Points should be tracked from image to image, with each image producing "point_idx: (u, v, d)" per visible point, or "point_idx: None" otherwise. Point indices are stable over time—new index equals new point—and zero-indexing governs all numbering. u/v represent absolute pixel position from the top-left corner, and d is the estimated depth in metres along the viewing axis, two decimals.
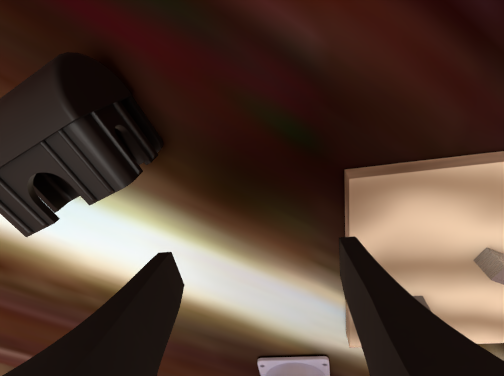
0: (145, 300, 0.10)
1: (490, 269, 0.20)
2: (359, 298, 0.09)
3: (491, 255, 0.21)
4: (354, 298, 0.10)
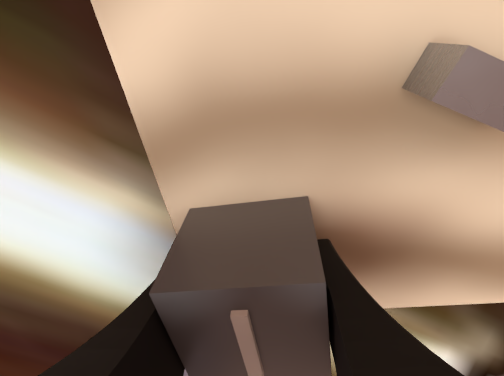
0: None
1: (432, 78, 0.08)
2: None
3: (437, 49, 0.08)
4: None
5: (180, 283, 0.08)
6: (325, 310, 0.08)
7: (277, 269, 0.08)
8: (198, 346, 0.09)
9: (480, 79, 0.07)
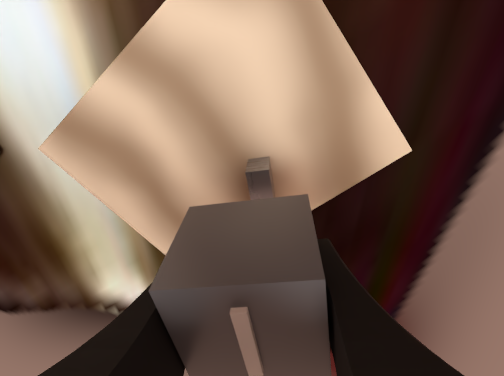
0: None
1: (254, 167, 0.17)
2: None
3: (266, 161, 0.17)
4: None
5: (180, 280, 0.08)
6: (324, 307, 0.08)
7: (277, 266, 0.08)
8: (198, 344, 0.09)
9: (261, 182, 0.17)
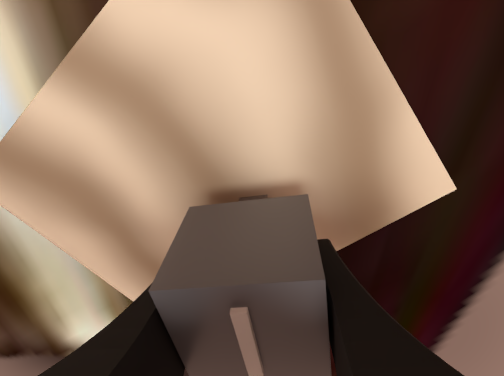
0: None
1: None
2: None
3: None
4: None
5: (180, 280, 0.08)
6: (324, 307, 0.08)
7: (277, 266, 0.08)
8: (198, 344, 0.09)
9: None
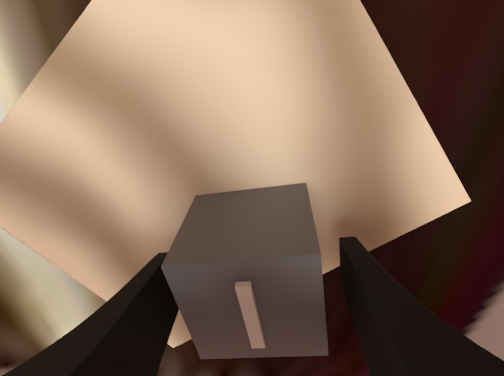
0: (145, 300, 0.10)
1: None
2: (359, 298, 0.09)
3: None
4: (354, 298, 0.10)
5: (189, 257, 0.09)
6: (320, 281, 0.09)
7: (277, 244, 0.09)
8: (205, 318, 0.10)
9: None
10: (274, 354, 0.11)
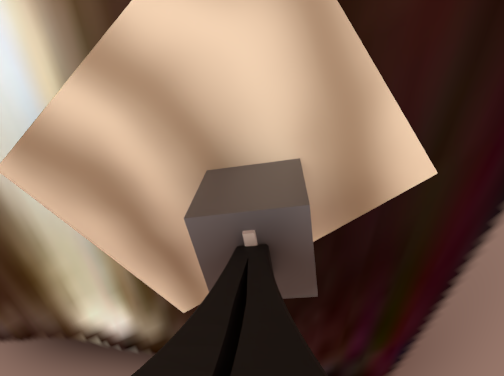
0: (242, 294, 0.09)
1: None
2: None
3: None
4: None
5: (206, 211, 0.11)
6: (309, 228, 0.11)
7: (276, 200, 0.11)
8: (218, 264, 0.12)
9: None
10: None
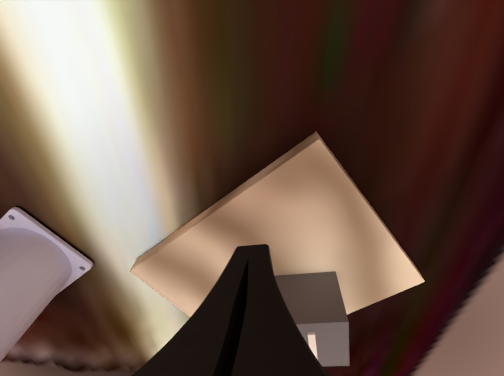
0: (242, 294, 0.09)
1: None
2: None
3: None
4: None
5: None
6: (347, 332, 0.19)
7: (327, 315, 0.19)
8: None
9: None
10: None
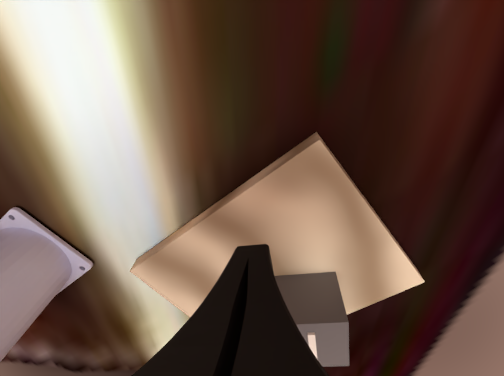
0: (242, 294, 0.09)
1: None
2: None
3: None
4: None
5: None
6: (347, 332, 0.19)
7: (327, 315, 0.19)
8: None
9: None
10: None
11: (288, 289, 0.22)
